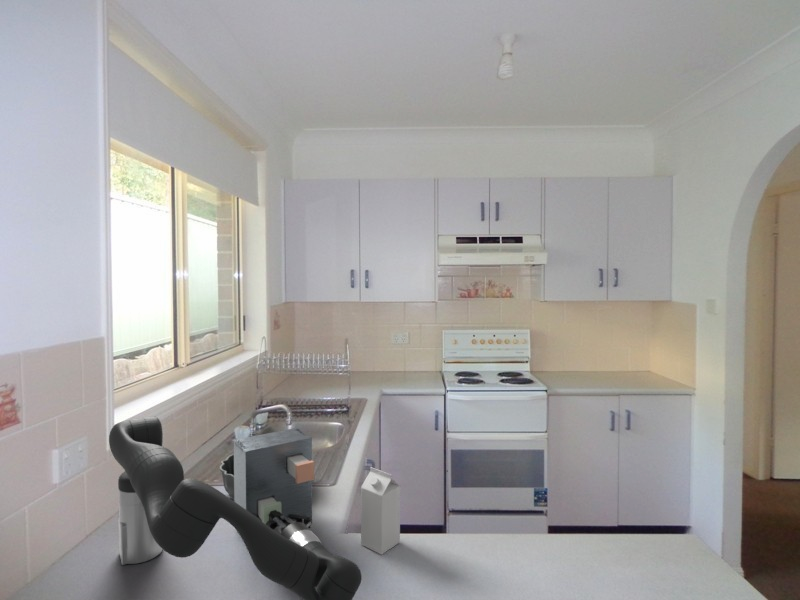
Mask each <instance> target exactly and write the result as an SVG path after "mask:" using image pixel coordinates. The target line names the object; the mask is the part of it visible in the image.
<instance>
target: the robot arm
mask: <svg viewBox="0 0 800 600" xmlns="http://www.w3.org/2000/svg"><path fill="white" fill-rule="evenodd" d="M108 442H109V444H108V445H109V449H110V451H111V454H112V456H113V458H114V459H115V461H116V462H117V463H118V464H119V465H120V466H121V468H122V469H123V470H124V471H123V472H122V473H120V475H119V476H118V479H117V480H118V483H117V484H118V486H117V487H118V516H117V517H118V518H117V520H118V555H119V558H120V564H121V565H122V566H124V565H127V564H130V565H133V564H140V563H141V564H142V563H145V562H147V561H151V560H153V559H155V558H156V557H158V556H159V555H160V554H161V553H162V552H163V551H164V552H166V553H167V554H169V555H171V556H173V557H176V558H188V557H191V556H193V555H194V554H196V552H198V551H199V549H200V548H201V547H202V546H203V545H204V543H205V542H206V541H207V538H208V537H209V536H210V534H211V532H212V531H213V530H214V528H215V527H216V525H217V524H218V522H219V520H220V519H223V520H225V522H227V523H229V524H230V525H231V526H232V527H233V528H234V529H235V530H236V531H237V533H238V534H239V536H240V538H241V540H242V541H243V544H244V545H245V547H246V550H247V552H248V554H249V557H250V558H251V560H252V562H253V565H254V566H255V568H256V569H257V570H258V571H259V573H260V574H261V575H262V576H264V577H265V578H266V579H268V580H270V581H271V582H274V583H276V584H278V585H279V586H282V587H283V588H285V589H288V590H289V591H292V592H293V593H294V594H296V595H297V596H298V597H300V598H301V599H302V600H353V599H354V597H355V595H356V593H357V591H358V589H359V588H360V585H361V582H362V573H361V569H360V567H359V566H358V565H357V564H356V563H355V562H353V561H352V560H350V559H347V558H344V557H340V556H338V555H335V554H334V553H332V552H331V551H329V550H328V548H327V547H326V546H325V545H324V544H323V543H322V541H321V540H320V538H319V537H318V536H317V535H316V534H315V533H314V532H313V531H312V530H311V528H312V523H311V518H310V517H306V516H300V515H294V514H289V515H288V516H287V517H286V516H285V515H282V514H281V513H280V512H279V511H278V512H277V511H276V510H274V511H271V512H270V514H269V521H267V523H266V524H265V523H263V522H262V521H261V520H259V519H258V518H257V517H255V516H254V515H253V514H251V513H250V512H248V511H247V510H246V509H244V508H243V507H241V506H240V505H238V504H237V503H236V502H234V500H233V499H232V498H231V497H230V496H227V494H224V493H223V492H221V491H220V490H218V489H217V488H215V487H213V486H212V485H210V484H208V483H206V482H204V481H202V480H199V479H196V478H189V477H188V478H185V476H184V475H185V474H184V469H183V465H182V463H181V462H180V460H179V459H178V457H177V456H176V455H175V454H174V453H173V452H172V451H171V450H170V449H168V447H165V446H163V426H162V422H161V421H160V419H159V417H157V416H153V415H151V416H145V417H139V418H135V419H129V420H128V419H127V420H123V421H120V422H117V423H116V424H114V425H113V426H112V427H111V429H110V432H109V435H108ZM293 519H296V522H295V521H293ZM273 529H274V530H273Z"/></svg>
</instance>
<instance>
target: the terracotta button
mask: <svg viewBox="0 0 800 600" xmlns="http://www.w3.org/2000/svg"><path fill="white" fill-rule="evenodd" d="M286 471H287V472H288V473H290V474H291V475H292V476H293V477H294V478H295V479H296V483H297V484H299V483H302V482H306V481H310V480H312V481H313V480H315V461H314V460H313V459H312V460H311V461H309V460H307V459H306V458H305V457H303V456H302V455H301V454H296V455H292V456H288V457H286Z"/></svg>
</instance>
